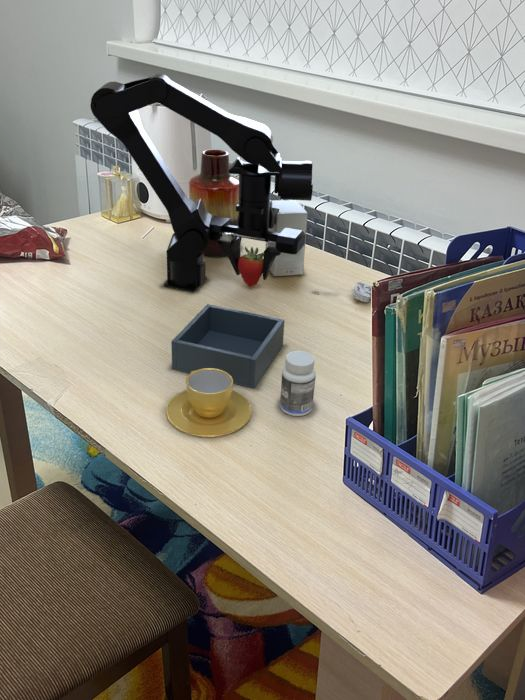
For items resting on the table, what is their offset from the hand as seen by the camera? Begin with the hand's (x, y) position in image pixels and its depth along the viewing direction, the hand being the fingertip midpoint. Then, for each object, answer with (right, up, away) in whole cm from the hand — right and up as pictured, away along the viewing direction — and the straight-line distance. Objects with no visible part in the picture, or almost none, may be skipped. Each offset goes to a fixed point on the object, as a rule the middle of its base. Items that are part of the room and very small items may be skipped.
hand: (251, 276), depth 132 cm
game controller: (+18, -4, 0) cm, 18 cm away
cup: (-6, -23, -35) cm, 42 cm away
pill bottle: (+7, -22, -33) cm, 40 cm away
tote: (-3, -15, -22) cm, 27 cm away
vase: (-8, +8, +17) cm, 21 cm away
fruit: (0, -2, +1) cm, 2 cm away
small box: (+6, +3, +9) cm, 12 cm away
